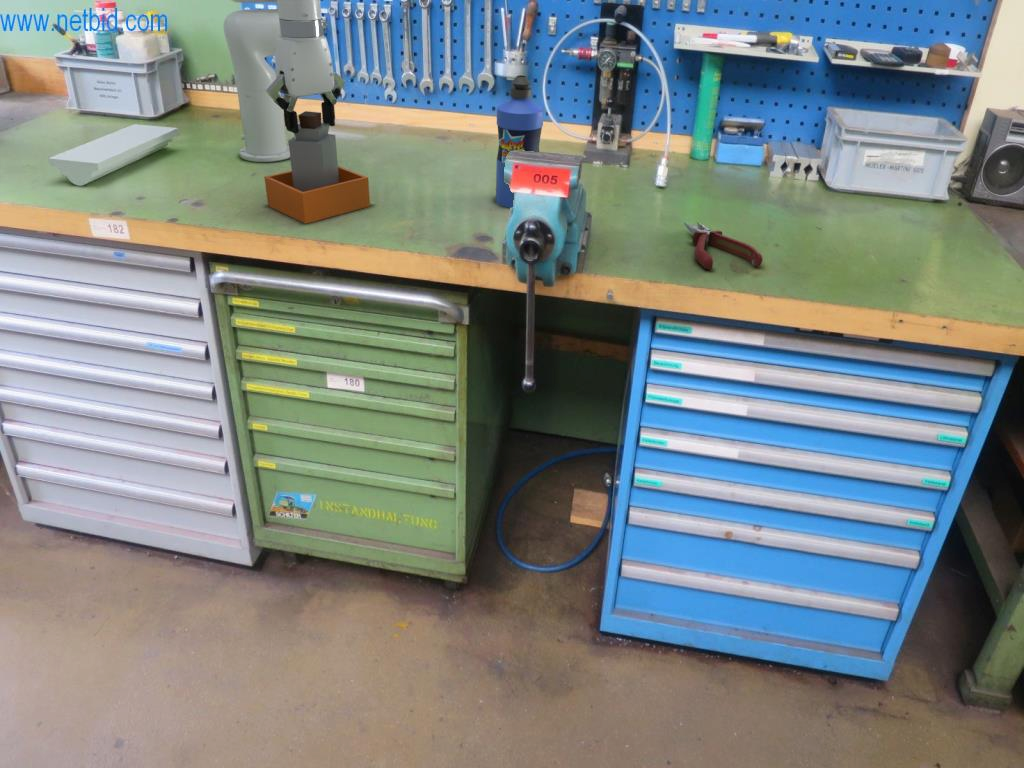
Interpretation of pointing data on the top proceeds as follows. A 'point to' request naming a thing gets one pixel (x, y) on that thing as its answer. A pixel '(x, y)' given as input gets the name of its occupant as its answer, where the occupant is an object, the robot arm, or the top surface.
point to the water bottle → (516, 131)
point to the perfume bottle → (313, 154)
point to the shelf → (111, 152)
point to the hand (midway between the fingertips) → (311, 127)
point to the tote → (318, 196)
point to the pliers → (720, 246)
